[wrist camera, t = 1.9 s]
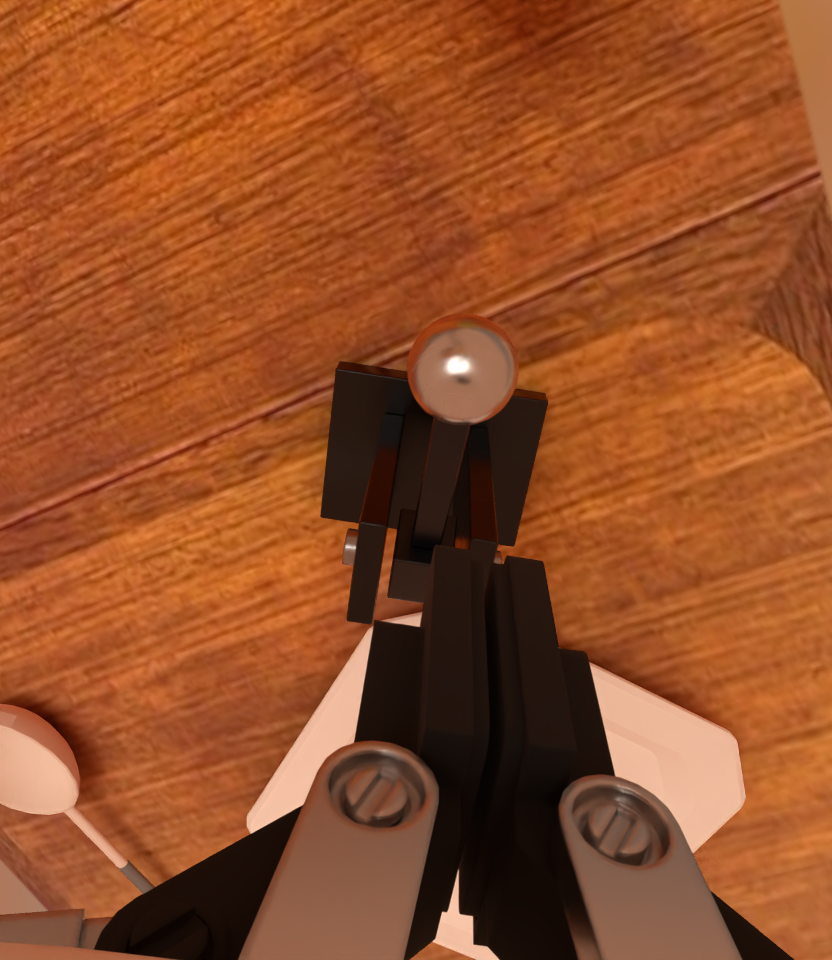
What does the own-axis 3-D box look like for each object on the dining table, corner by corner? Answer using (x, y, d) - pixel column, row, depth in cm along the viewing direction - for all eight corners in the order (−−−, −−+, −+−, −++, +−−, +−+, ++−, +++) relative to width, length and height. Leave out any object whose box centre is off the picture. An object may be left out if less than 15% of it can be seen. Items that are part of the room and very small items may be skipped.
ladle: (14, 661, 46) (-19, 729, 42) (277, 887, 61) (271, 953, 57) (-67, 697, 47) (-106, 766, 43) (210, 910, 62) (199, 976, 58)
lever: (419, 282, 23) (407, 358, 21) (530, 300, 23) (528, 377, 21) (383, 537, 33) (372, 605, 31) (460, 549, 33) (454, 617, 31)
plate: (407, 554, 42) (404, 577, 40) (777, 737, 47) (791, 766, 45) (228, 831, 52) (219, 860, 50) (546, 961, 57) (549, 992, 55)
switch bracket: (339, 360, 38) (293, 465, 27) (546, 392, 38) (580, 509, 27) (323, 506, 41) (277, 650, 31) (512, 535, 41) (531, 687, 31)
